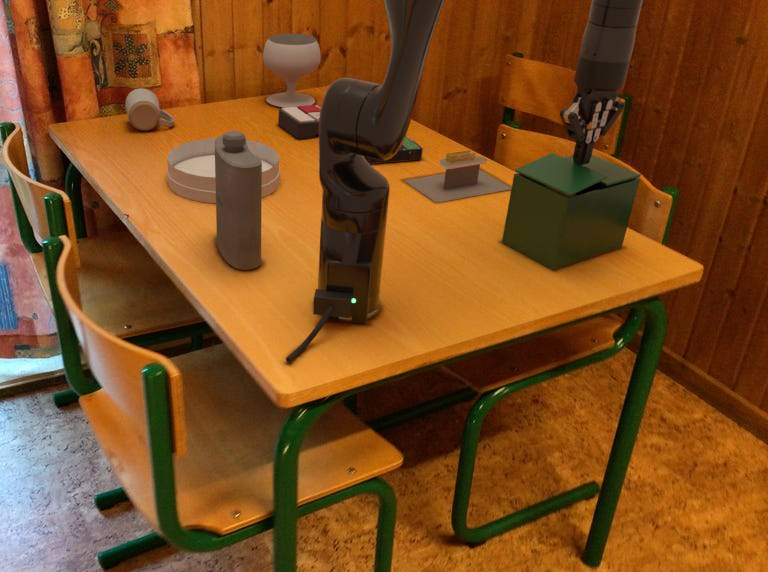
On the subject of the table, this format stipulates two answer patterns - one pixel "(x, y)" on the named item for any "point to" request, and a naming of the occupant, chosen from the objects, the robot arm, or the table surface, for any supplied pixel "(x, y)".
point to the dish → (213, 169)
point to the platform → (458, 179)
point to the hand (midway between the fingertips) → (580, 162)
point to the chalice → (291, 65)
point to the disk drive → (402, 152)
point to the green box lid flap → (561, 174)
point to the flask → (238, 201)
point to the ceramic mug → (146, 110)
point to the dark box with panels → (300, 120)
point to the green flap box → (570, 216)
